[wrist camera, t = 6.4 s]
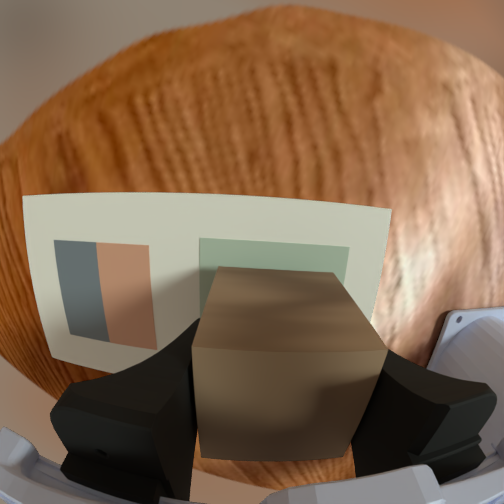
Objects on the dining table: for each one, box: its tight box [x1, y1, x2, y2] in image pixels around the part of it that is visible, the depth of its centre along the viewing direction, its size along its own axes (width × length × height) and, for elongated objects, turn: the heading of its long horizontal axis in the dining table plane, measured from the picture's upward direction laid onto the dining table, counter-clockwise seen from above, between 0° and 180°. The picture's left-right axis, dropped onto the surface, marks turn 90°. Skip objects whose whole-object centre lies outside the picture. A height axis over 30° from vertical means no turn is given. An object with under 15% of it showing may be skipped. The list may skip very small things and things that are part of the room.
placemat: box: [23, 192, 392, 373], centre depth 14 cm, size 20×11×1 cm, turn 87°
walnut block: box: [192, 266, 388, 461], centre depth 10 cm, size 5×5×6 cm
